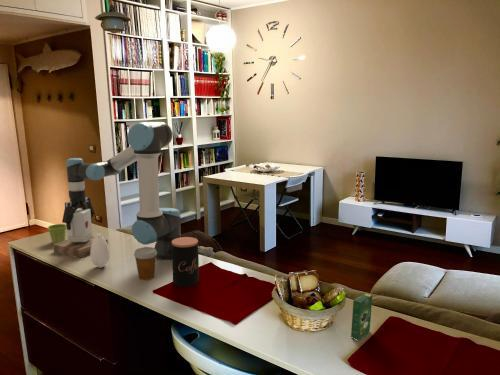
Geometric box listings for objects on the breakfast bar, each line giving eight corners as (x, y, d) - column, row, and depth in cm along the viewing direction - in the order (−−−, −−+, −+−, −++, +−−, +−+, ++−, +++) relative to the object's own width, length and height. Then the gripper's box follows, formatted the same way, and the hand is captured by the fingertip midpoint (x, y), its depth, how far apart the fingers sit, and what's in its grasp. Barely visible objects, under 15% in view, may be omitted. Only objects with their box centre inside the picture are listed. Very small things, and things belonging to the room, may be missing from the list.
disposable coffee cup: (162, 274, 180) (161, 248, 177) (150, 283, 171) (148, 255, 169) (143, 271, 183) (142, 245, 180) (130, 280, 174) (129, 252, 172)
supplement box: (85, 242, 205) (83, 213, 202) (67, 242, 205) (65, 212, 202) (93, 236, 214) (90, 208, 211) (75, 236, 214) (73, 208, 211)
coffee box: (362, 328, 137) (364, 291, 135) (370, 331, 135) (373, 294, 133) (350, 338, 131) (352, 299, 129) (358, 341, 129) (360, 302, 127)
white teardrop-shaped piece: (88, 267, 188) (85, 228, 184) (104, 262, 193) (102, 225, 190) (96, 271, 182) (94, 232, 179) (113, 266, 188) (110, 228, 185)
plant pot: (63, 245, 217) (61, 229, 215) (45, 244, 217) (43, 228, 215) (71, 239, 226) (69, 224, 224) (53, 239, 226) (52, 223, 224)
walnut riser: (108, 246, 215) (107, 239, 214) (80, 258, 199) (79, 250, 198) (82, 241, 222) (81, 234, 221) (53, 252, 206) (53, 244, 205)
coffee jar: (177, 290, 165) (176, 246, 161) (169, 280, 174) (168, 239, 171) (202, 284, 170) (201, 242, 166) (193, 275, 179) (192, 235, 176)
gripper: (89, 185, 216) (92, 225, 221) (51, 193, 196) (55, 238, 200) (100, 186, 213) (103, 227, 217) (62, 194, 192) (66, 240, 197)
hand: (80, 232), depth 209 cm, fingers closed on supplement box, 11 cm apart
